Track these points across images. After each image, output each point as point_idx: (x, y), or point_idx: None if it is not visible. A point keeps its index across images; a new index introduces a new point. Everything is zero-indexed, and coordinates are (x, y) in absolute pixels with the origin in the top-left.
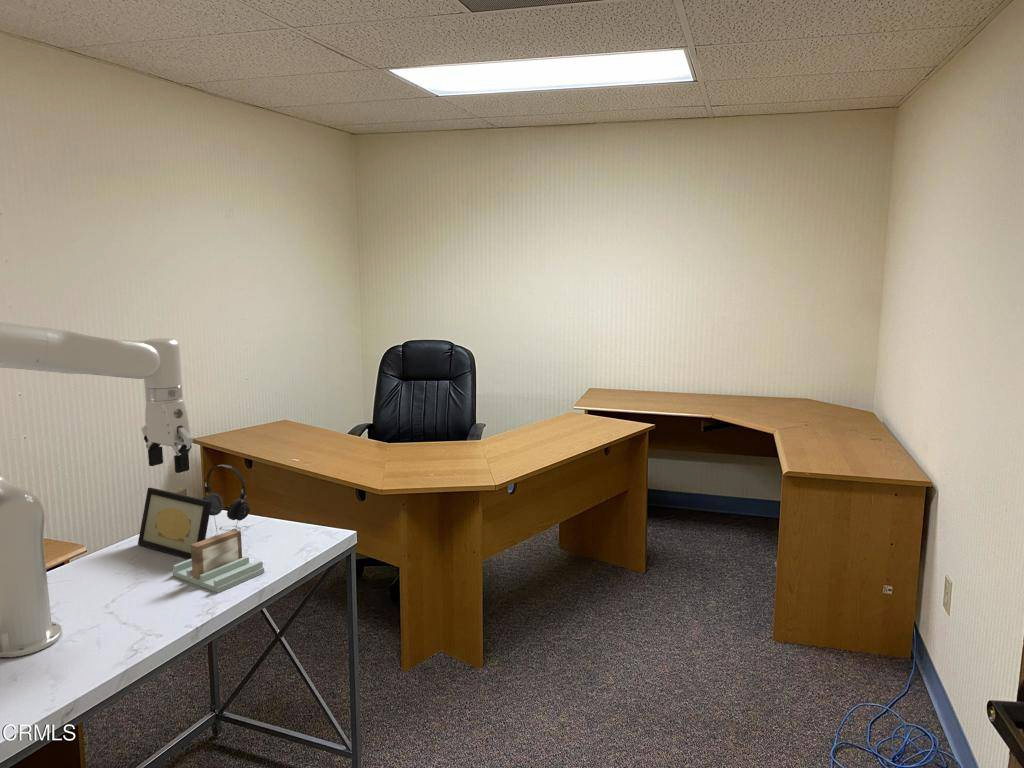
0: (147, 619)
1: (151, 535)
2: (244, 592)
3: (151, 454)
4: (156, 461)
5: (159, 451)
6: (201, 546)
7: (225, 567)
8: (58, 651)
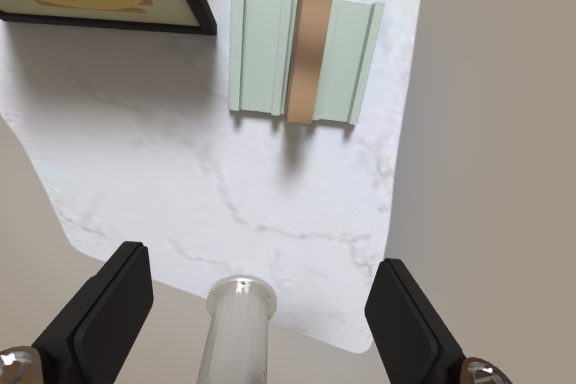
0: (320, 220)
1: (20, 6)
2: (394, 100)
3: (119, 365)
4: (142, 293)
5: (104, 330)
6: (312, 113)
7: (327, 66)
8: (292, 296)
